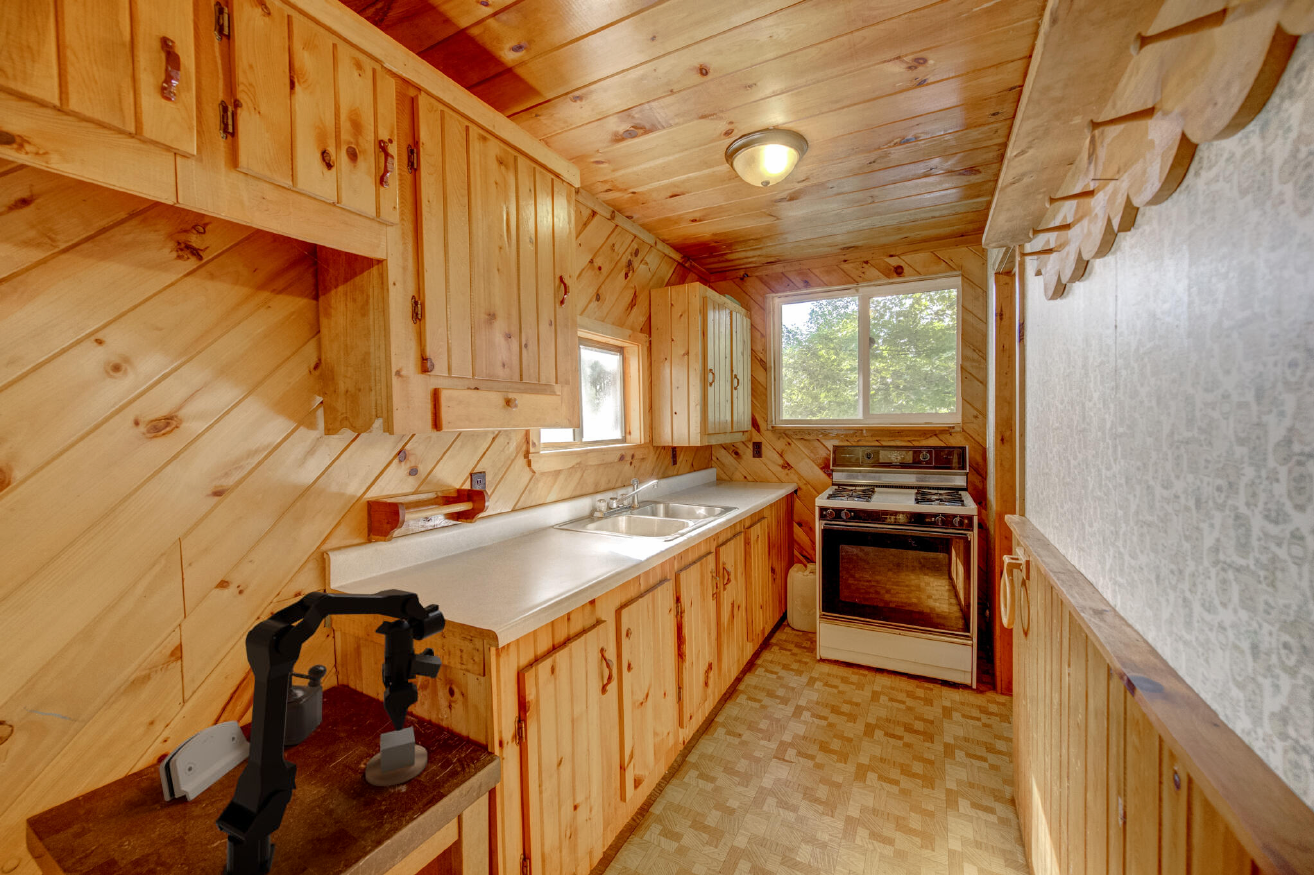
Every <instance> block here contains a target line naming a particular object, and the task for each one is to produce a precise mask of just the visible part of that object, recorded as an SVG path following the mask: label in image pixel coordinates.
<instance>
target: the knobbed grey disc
mask: <svg viewBox="0 0 1314 875" xmlns="http://www.w3.org/2000/svg"><path fill="white" fill-rule="evenodd" d="M427 764H428V751H427V750H426V748H425V747H423V746H422V745H419V744H415V765H411V766H407V767H404V768H400V769H396V770H393V771H389V772H385V773H382V774H381V761H380V752H378V753H376V754H375V755H374V756H373V757H371V759H369V761H368V762H367V763H366V765H365V779H366V781H367V782H368V783H369V784H370V785H373V786H375V787H390V786H395V785H399V784H402V783H405V782H407V781H410V780H412V779H413V778H415V777H416V776H418V775H419V774H420V773H422V772H423V770H425V768H426V766H427Z"/></svg>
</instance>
